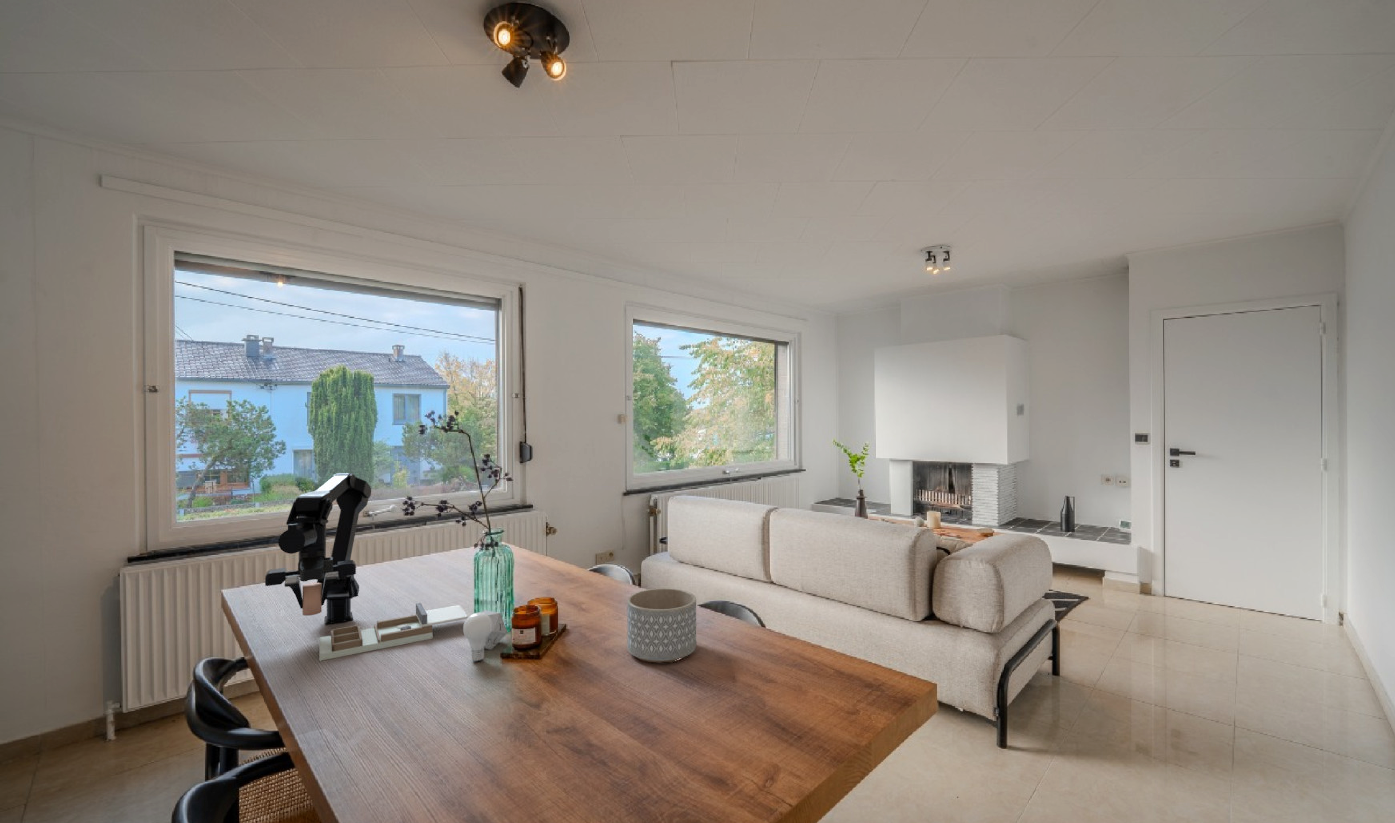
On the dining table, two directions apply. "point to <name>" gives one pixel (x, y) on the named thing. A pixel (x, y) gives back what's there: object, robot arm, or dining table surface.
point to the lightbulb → (477, 633)
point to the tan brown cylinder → (312, 599)
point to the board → (373, 637)
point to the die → (495, 629)
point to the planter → (661, 624)
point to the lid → (439, 615)
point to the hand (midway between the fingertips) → (312, 606)
